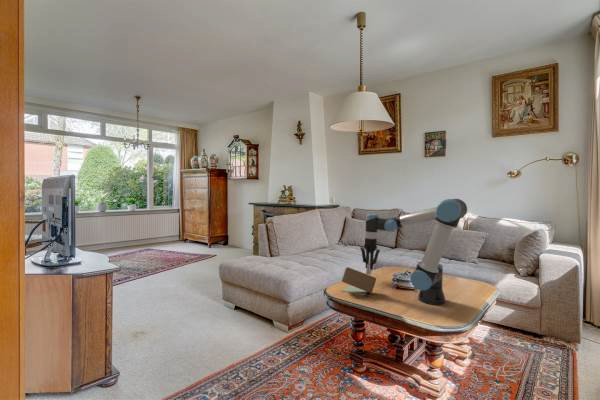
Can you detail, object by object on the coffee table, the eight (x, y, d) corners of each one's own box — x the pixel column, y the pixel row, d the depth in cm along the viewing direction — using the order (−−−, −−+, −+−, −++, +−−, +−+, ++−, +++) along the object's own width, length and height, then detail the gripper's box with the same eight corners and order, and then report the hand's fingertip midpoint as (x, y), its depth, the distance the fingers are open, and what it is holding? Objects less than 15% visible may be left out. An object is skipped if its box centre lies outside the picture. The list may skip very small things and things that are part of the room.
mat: (372, 289, 210) (372, 289, 210) (363, 295, 199) (363, 295, 199) (350, 285, 220) (350, 284, 220) (341, 290, 208) (341, 290, 208)
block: (375, 278, 207) (346, 266, 211) (376, 278, 197) (346, 266, 202) (370, 292, 205) (341, 281, 210) (371, 293, 196) (341, 281, 200)
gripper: (383, 238, 201) (381, 274, 202) (363, 235, 209) (361, 270, 210) (378, 240, 195) (376, 277, 196) (358, 237, 203) (356, 272, 204)
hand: (368, 273), depth 203 cm, fingers closed
